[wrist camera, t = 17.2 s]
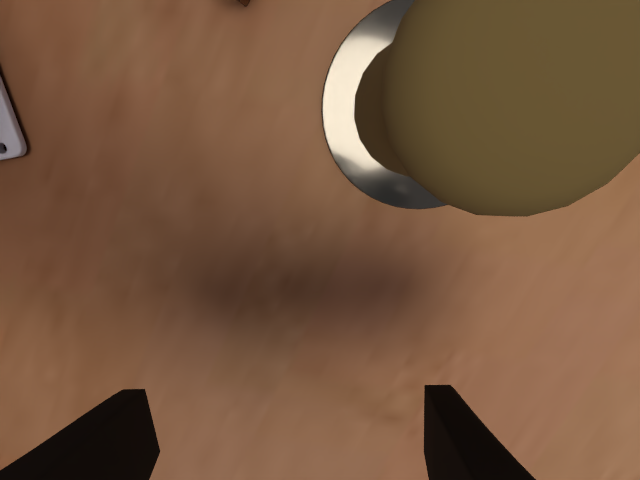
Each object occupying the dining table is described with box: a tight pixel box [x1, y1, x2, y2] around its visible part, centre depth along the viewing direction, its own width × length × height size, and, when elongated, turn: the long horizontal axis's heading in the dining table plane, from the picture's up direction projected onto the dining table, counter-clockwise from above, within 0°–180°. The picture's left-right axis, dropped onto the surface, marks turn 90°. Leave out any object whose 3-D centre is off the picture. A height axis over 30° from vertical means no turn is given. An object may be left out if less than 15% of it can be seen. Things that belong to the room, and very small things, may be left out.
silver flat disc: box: [322, 0, 448, 209], centre depth 17 cm, size 9×9×1 cm
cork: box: [354, 0, 640, 216], centre depth 11 cm, size 6×6×11 cm
